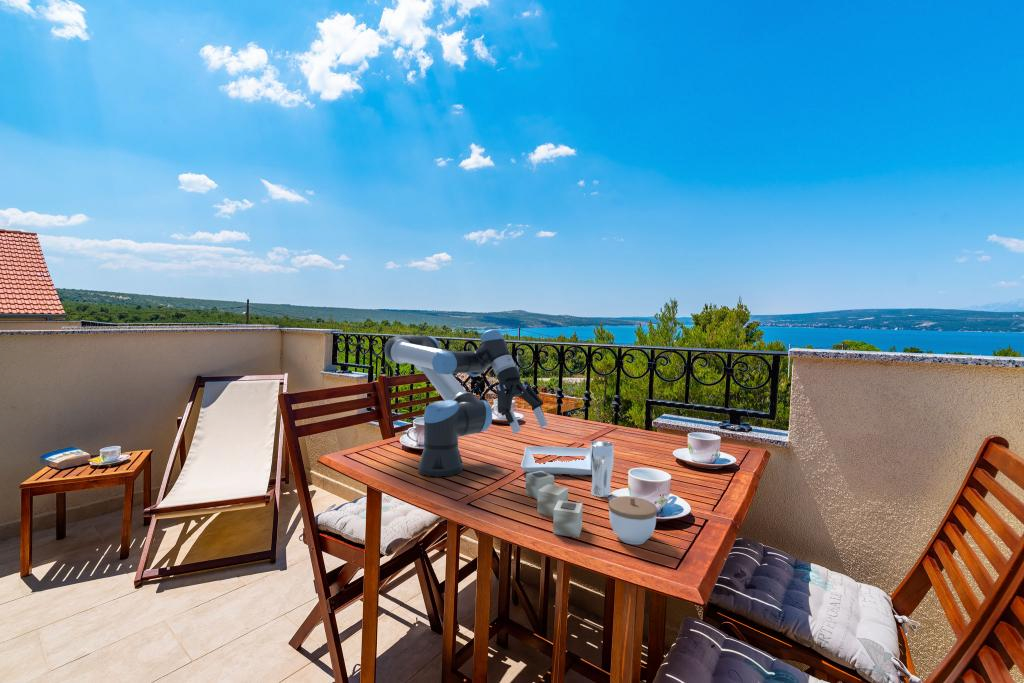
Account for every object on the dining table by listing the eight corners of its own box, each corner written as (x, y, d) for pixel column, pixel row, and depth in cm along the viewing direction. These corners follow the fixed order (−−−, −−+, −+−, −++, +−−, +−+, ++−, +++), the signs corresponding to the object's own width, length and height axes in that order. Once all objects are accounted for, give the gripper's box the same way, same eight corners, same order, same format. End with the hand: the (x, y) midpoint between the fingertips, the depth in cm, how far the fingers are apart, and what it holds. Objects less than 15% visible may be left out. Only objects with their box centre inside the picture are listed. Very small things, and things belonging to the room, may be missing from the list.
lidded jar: (648, 528, 99) (648, 489, 99) (663, 550, 88) (663, 508, 88) (604, 526, 100) (604, 488, 100) (613, 549, 89) (614, 506, 89)
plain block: (537, 513, 107) (537, 490, 107) (547, 505, 112) (548, 483, 112) (558, 518, 104) (558, 495, 104) (567, 510, 109) (568, 488, 109)
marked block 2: (553, 534, 96) (553, 508, 96) (558, 523, 101) (558, 499, 101) (578, 538, 94) (579, 512, 94) (582, 526, 100) (582, 502, 100)
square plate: (593, 457, 160) (593, 447, 160) (602, 481, 133) (602, 469, 133) (525, 454, 163) (525, 444, 163) (519, 477, 136) (520, 465, 136)
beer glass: (595, 499, 117) (596, 447, 117) (585, 490, 123) (585, 441, 123) (617, 497, 118) (618, 445, 118) (605, 488, 125) (606, 440, 125)
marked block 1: (525, 493, 121) (525, 473, 121) (541, 489, 124) (542, 469, 124) (537, 500, 116) (537, 479, 116) (553, 495, 119) (554, 475, 119)
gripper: (486, 366, 126) (512, 429, 118) (536, 364, 145) (562, 419, 137) (472, 378, 130) (497, 440, 122) (522, 375, 149) (547, 428, 141)
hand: (531, 429), depth 130 cm, fingers open, 13 cm apart
